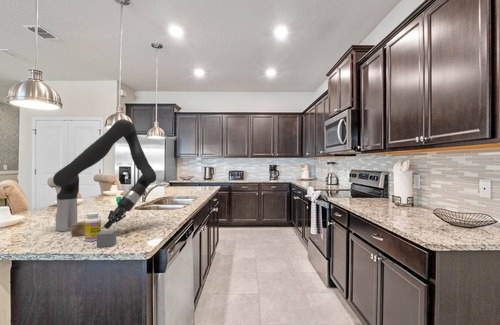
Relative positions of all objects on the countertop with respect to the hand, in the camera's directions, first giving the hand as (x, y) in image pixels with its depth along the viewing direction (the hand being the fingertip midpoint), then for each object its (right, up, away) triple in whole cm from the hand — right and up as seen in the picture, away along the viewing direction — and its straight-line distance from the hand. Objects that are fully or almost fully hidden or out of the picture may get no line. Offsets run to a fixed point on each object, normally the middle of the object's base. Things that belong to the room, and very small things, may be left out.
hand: (105, 227), depth 127 cm
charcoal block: (+8, -4, -13) cm, 16 cm away
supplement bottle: (-3, -5, -5) cm, 7 cm away
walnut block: (-15, -5, +3) cm, 16 cm away
